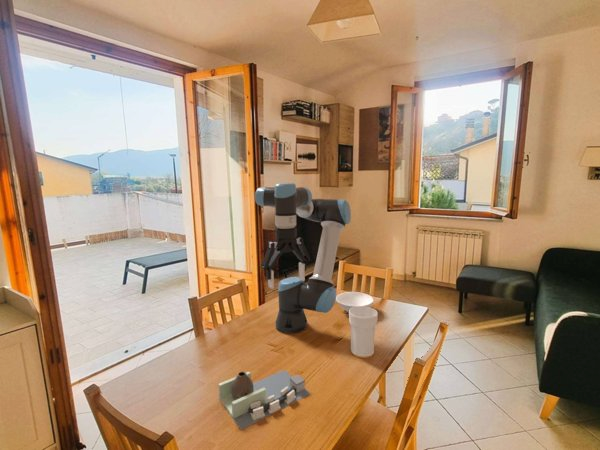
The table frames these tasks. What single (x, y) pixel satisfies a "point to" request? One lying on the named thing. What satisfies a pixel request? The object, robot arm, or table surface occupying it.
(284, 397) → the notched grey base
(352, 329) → the cup
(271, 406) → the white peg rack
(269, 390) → the board
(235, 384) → the vase
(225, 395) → the holder
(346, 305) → the bowl
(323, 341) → the table surface
